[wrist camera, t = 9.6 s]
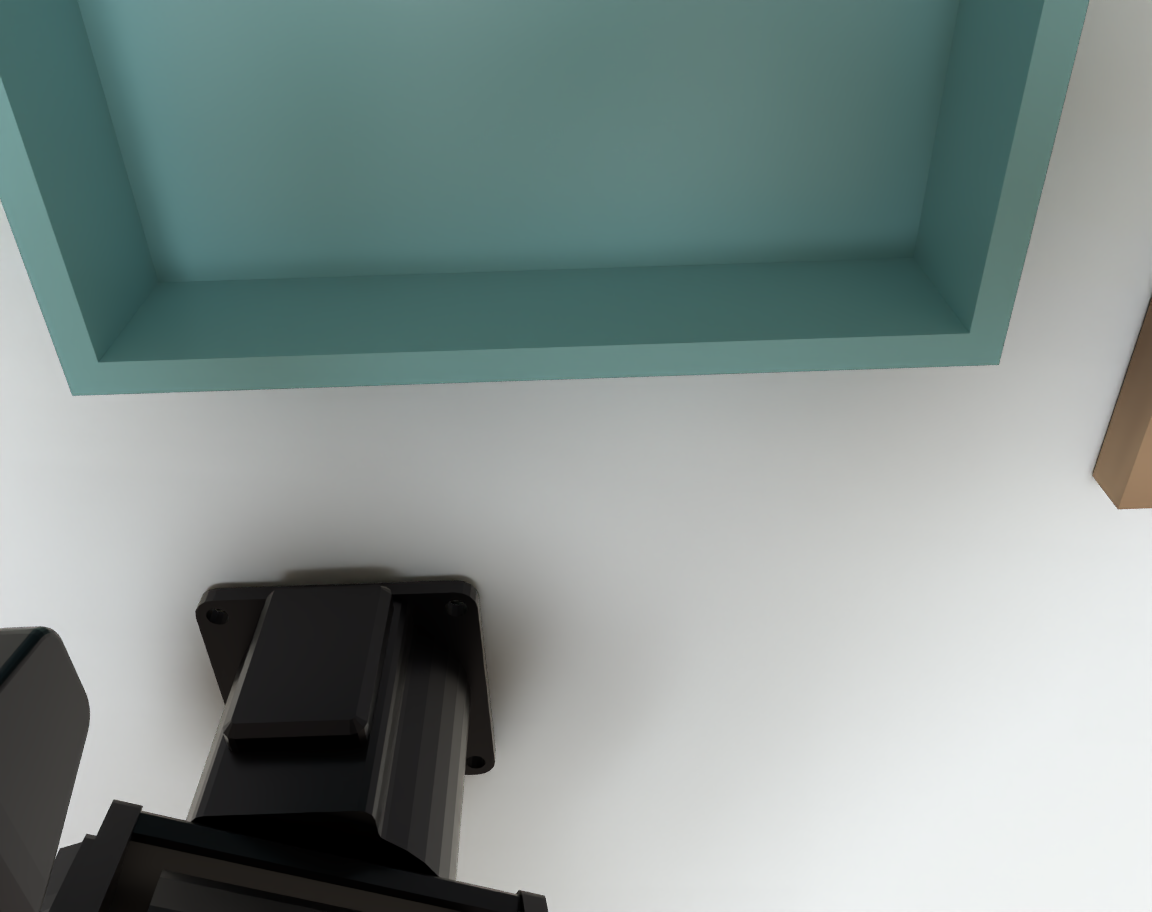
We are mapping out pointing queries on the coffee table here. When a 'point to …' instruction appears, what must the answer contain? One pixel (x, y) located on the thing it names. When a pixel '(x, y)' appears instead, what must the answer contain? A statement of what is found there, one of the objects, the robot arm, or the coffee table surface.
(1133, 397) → the pallet
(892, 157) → the tote
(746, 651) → the coffee table surface
